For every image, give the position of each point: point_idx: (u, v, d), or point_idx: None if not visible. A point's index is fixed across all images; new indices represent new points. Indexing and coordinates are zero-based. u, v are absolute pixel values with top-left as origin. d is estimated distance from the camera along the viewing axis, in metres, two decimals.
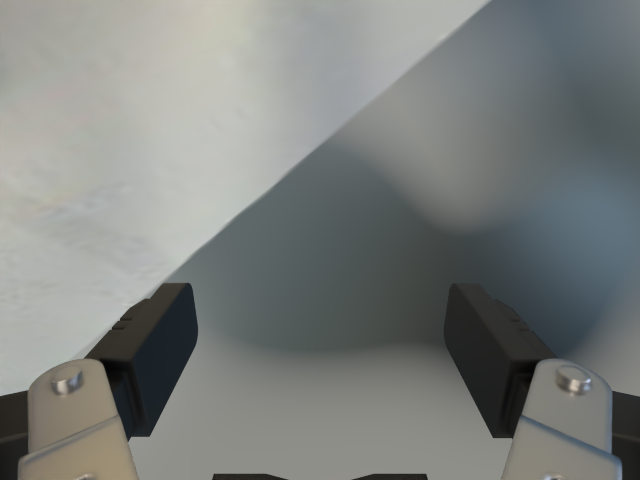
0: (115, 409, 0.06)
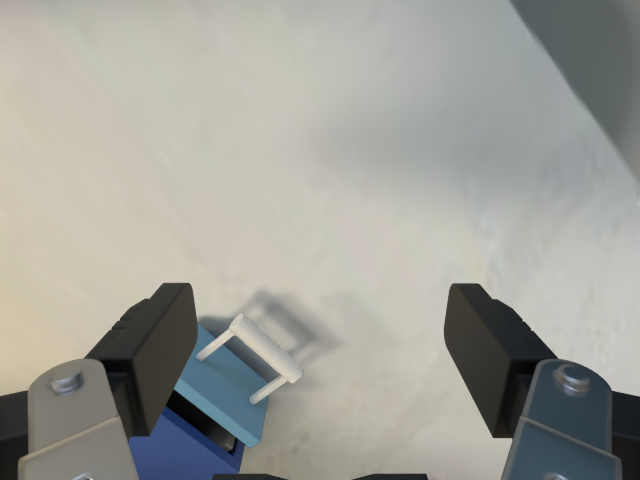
0: (115, 409, 0.06)
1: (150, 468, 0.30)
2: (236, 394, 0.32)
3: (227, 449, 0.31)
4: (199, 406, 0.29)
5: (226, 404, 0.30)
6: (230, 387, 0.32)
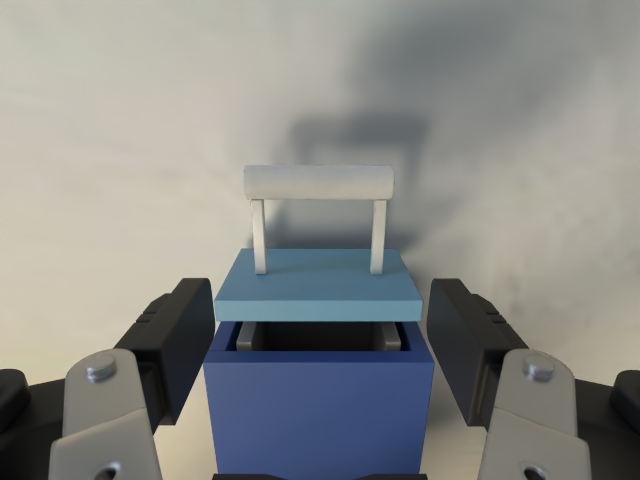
0: (143, 400, 0.06)
1: (326, 441, 0.20)
2: (345, 276, 0.20)
3: (395, 348, 0.19)
4: (298, 317, 0.18)
5: (334, 291, 0.18)
6: (331, 275, 0.20)
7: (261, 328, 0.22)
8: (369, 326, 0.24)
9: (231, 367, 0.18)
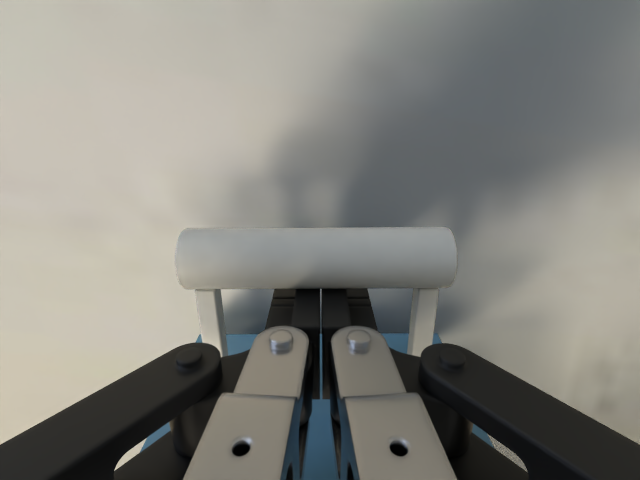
0: (300, 387, 0.07)
1: None
2: None
3: None
4: None
5: None
6: None
7: None
8: None
9: None
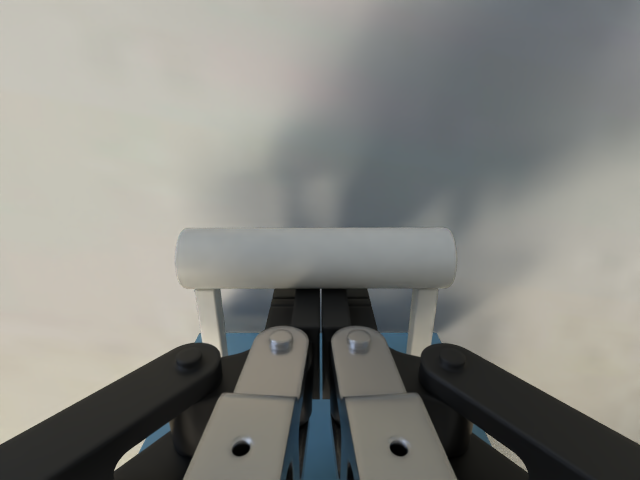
0: (300, 387, 0.07)
1: None
2: None
3: None
4: None
5: None
6: None
7: None
8: None
9: None
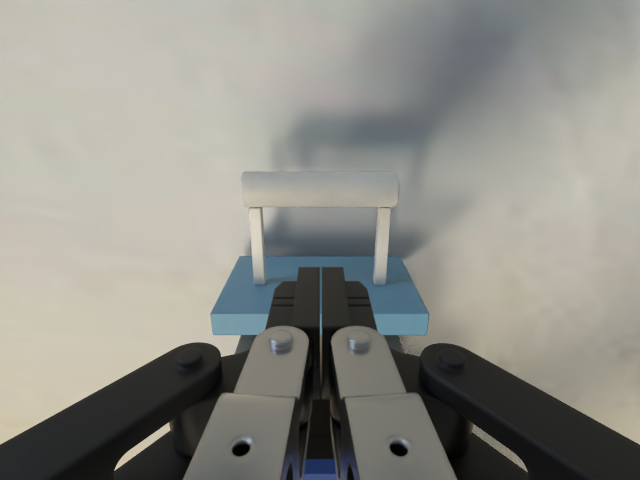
0: (300, 388, 0.07)
1: None
2: None
3: None
4: None
5: None
6: None
7: None
8: None
9: None
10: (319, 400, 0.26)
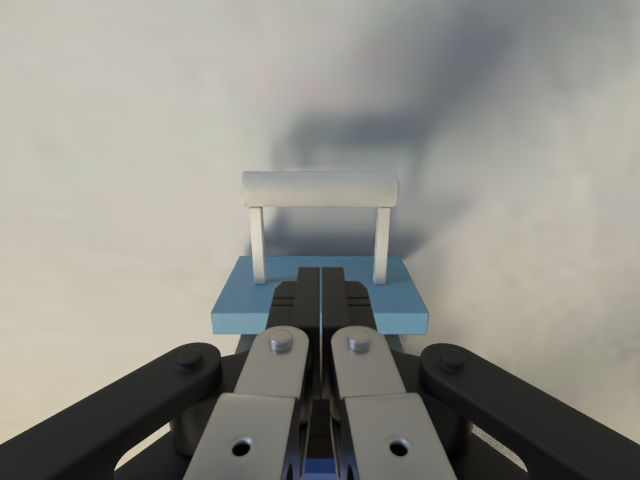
0: (300, 388, 0.07)
1: None
2: None
3: None
4: None
5: None
6: None
7: None
8: None
9: None
10: (319, 400, 0.26)
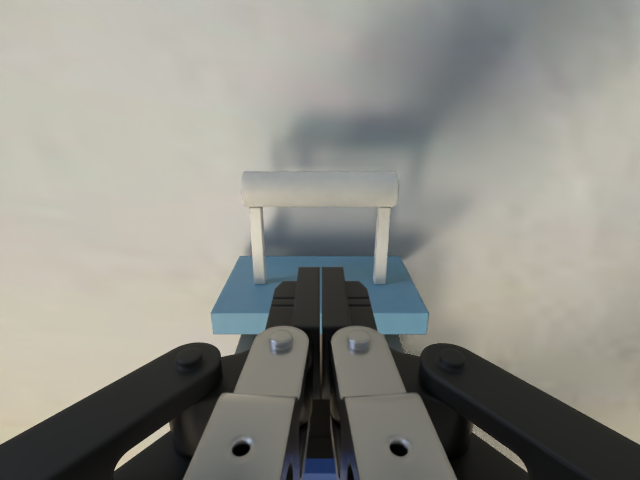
0: (300, 388, 0.07)
1: None
2: None
3: None
4: None
5: None
6: None
7: None
8: None
9: None
10: (319, 400, 0.26)
